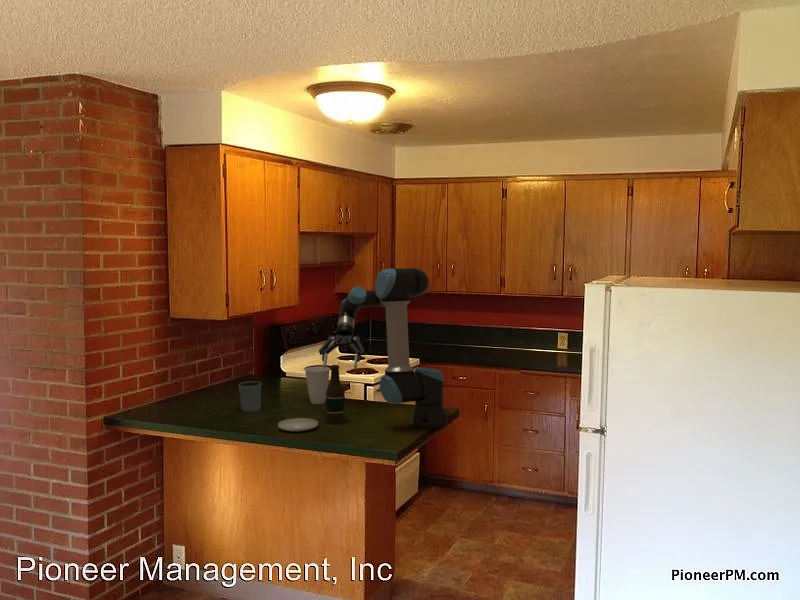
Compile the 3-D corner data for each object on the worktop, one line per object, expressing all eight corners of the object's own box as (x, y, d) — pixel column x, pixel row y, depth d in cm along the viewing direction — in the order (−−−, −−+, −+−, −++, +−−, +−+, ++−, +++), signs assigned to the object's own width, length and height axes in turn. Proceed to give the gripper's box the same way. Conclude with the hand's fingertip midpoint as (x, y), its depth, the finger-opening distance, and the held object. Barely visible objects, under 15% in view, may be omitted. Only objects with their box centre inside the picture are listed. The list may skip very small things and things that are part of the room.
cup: (313, 406, 317) (312, 372, 315) (300, 401, 326) (300, 368, 325) (335, 402, 324) (334, 369, 322) (322, 398, 333) (322, 365, 332)
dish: (323, 430, 276) (323, 425, 276) (284, 435, 270) (283, 430, 269) (311, 421, 291) (311, 416, 291) (274, 425, 284) (273, 420, 284)
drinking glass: (266, 408, 312) (266, 382, 311) (250, 413, 304) (249, 386, 303) (250, 406, 318) (250, 380, 317) (234, 410, 310) (233, 384, 309)
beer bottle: (348, 421, 290) (348, 365, 288) (335, 425, 284) (334, 367, 282) (336, 418, 295) (335, 362, 293) (322, 421, 290) (321, 365, 287)
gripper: (373, 333, 314) (369, 372, 300) (319, 333, 317) (312, 371, 303) (371, 323, 308) (367, 362, 295) (317, 323, 311) (310, 361, 297)
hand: (339, 367), depth 299 cm, fingers open, 13 cm apart
